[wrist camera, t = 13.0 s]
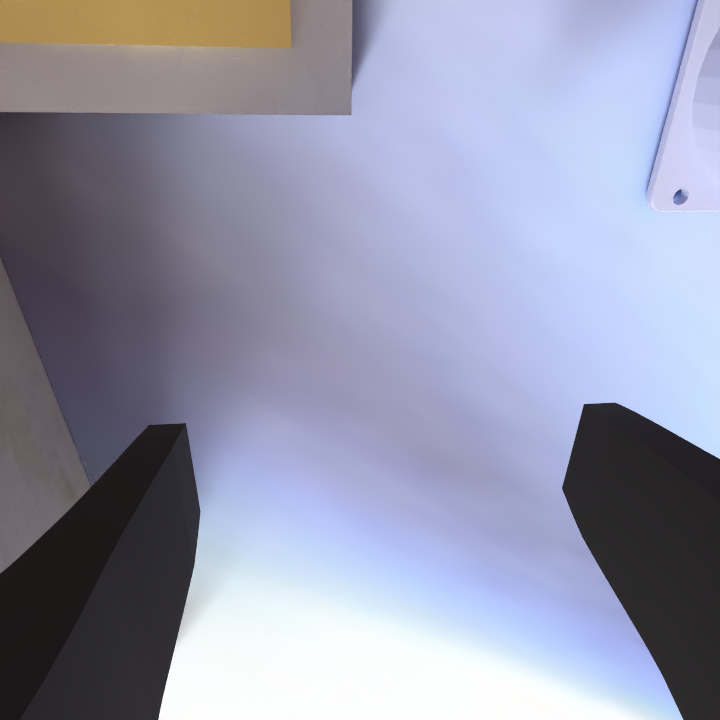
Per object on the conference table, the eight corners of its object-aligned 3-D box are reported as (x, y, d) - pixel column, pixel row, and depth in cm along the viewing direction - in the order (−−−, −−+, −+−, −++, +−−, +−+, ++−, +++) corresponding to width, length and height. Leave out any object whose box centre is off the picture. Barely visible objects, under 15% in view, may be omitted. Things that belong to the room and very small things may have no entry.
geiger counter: (-1488, 701, 4) (-58, 1170, 17) (-564, 593, 5) (158, 1130, 17) (-164, 215, 16) (90, 696, 29) (59, 197, 17) (214, 680, 29)
